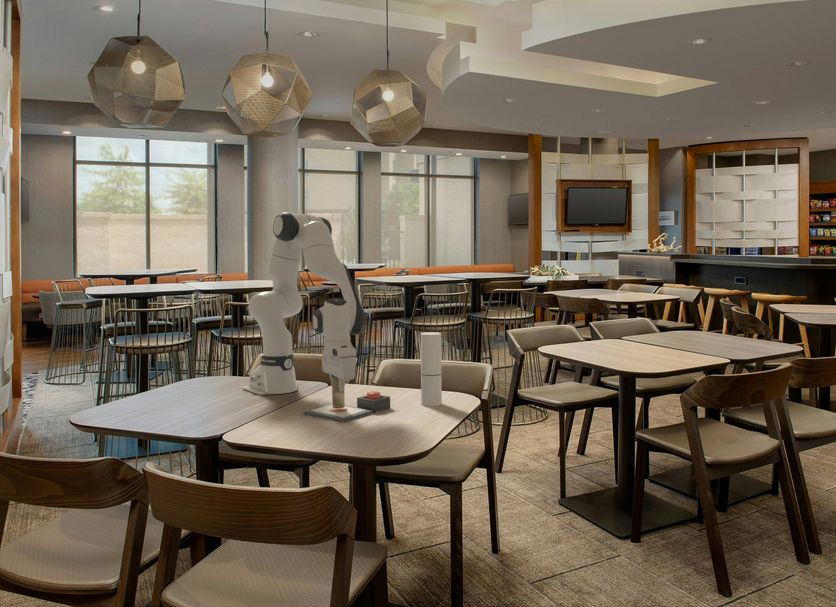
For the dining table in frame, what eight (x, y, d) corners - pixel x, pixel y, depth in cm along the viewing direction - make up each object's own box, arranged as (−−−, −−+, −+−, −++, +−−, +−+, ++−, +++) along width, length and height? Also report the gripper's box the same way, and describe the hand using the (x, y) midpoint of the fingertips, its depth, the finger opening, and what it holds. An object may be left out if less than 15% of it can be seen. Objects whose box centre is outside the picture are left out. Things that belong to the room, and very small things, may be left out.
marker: (329, 407, 220) (329, 374, 219) (338, 405, 223) (337, 372, 222) (338, 409, 218) (338, 375, 217) (347, 406, 221) (346, 374, 220)
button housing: (357, 409, 226) (357, 397, 226) (372, 405, 233) (372, 393, 232) (374, 412, 221) (374, 400, 221) (390, 408, 228) (390, 396, 227)
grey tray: (304, 414, 220) (304, 410, 220) (334, 406, 232) (334, 402, 231) (343, 422, 210) (343, 418, 209) (372, 413, 221) (372, 409, 221)
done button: (364, 401, 226) (364, 393, 226) (373, 399, 230) (372, 391, 230) (374, 403, 224) (374, 395, 223) (383, 401, 227) (383, 392, 227)
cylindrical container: (442, 401, 236) (441, 332, 234) (441, 406, 229) (440, 334, 227) (422, 401, 237) (421, 332, 235) (420, 406, 230) (419, 334, 228)
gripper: (316, 345, 226) (317, 385, 227) (340, 352, 209) (341, 396, 210) (334, 343, 229) (334, 383, 231) (358, 351, 212) (359, 393, 213)
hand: (338, 389), depth 220 cm, fingers closed on marker, 4 cm apart
